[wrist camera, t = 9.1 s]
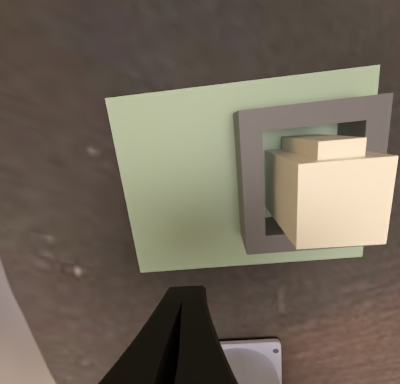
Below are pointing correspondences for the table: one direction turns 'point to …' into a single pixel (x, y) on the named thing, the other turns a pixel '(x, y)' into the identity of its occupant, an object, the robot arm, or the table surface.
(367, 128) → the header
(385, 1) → the table surface
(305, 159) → the plug
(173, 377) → the robot arm
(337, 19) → the table surface
